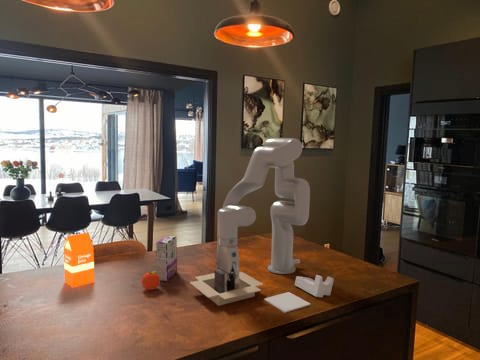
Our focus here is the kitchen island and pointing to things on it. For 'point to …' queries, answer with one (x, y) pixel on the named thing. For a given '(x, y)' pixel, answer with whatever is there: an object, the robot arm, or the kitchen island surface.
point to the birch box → (223, 281)
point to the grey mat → (287, 302)
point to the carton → (246, 291)
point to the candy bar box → (166, 257)
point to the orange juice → (79, 260)
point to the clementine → (151, 280)
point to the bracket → (315, 285)
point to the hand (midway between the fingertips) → (226, 286)
